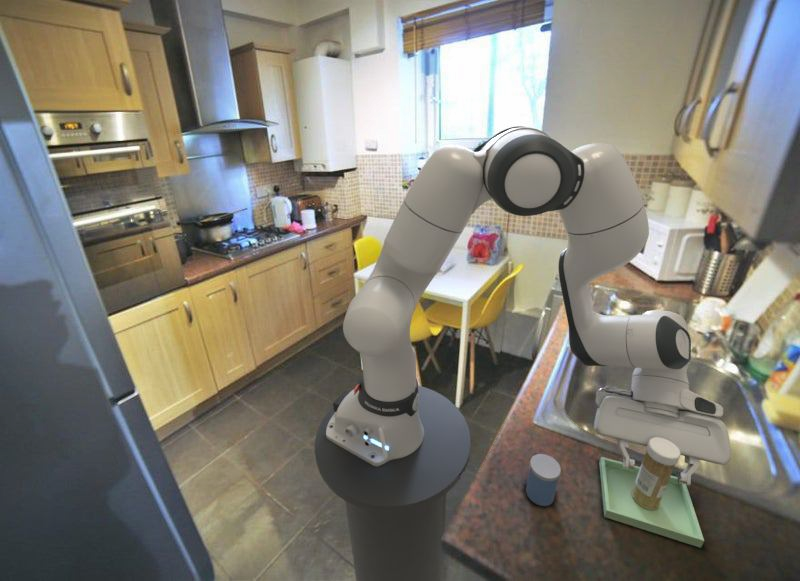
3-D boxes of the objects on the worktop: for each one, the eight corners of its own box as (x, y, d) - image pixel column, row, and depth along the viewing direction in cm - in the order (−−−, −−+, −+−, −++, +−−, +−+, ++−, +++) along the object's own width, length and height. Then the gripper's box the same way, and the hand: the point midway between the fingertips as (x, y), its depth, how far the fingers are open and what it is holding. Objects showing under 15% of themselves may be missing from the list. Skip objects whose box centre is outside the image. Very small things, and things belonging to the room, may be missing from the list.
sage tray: (604, 517, 65) (606, 510, 64) (599, 463, 75) (601, 456, 75) (700, 548, 60) (704, 540, 59) (681, 485, 70) (684, 478, 69)
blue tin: (524, 501, 68) (529, 472, 65) (526, 478, 73) (531, 450, 69) (554, 510, 66) (560, 482, 63) (554, 486, 71) (561, 458, 68)
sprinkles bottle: (664, 511, 65) (687, 458, 60) (637, 510, 66) (657, 456, 60) (651, 488, 69) (671, 436, 64) (625, 487, 70) (643, 435, 64)
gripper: (600, 382, 69) (592, 459, 65) (735, 409, 62) (736, 498, 58) (593, 386, 75) (587, 457, 71) (717, 411, 67) (717, 493, 63)
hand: (655, 476), depth 64 cm, fingers open, 7 cm apart
